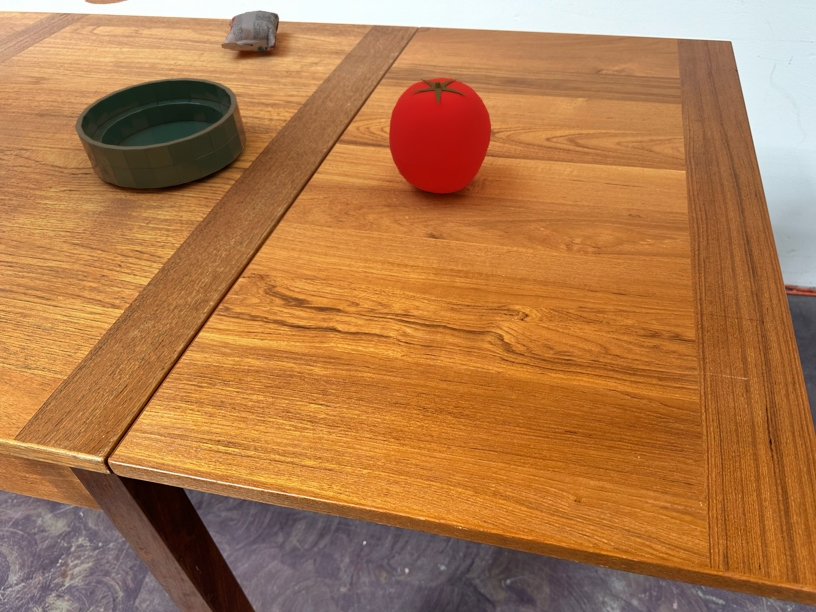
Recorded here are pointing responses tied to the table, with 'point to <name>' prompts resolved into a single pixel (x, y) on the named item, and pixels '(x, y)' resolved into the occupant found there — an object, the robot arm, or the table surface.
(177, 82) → the bowl
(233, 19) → the packaged food
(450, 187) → the tomato
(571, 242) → the table surface
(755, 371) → the table surface
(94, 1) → the foam cup
